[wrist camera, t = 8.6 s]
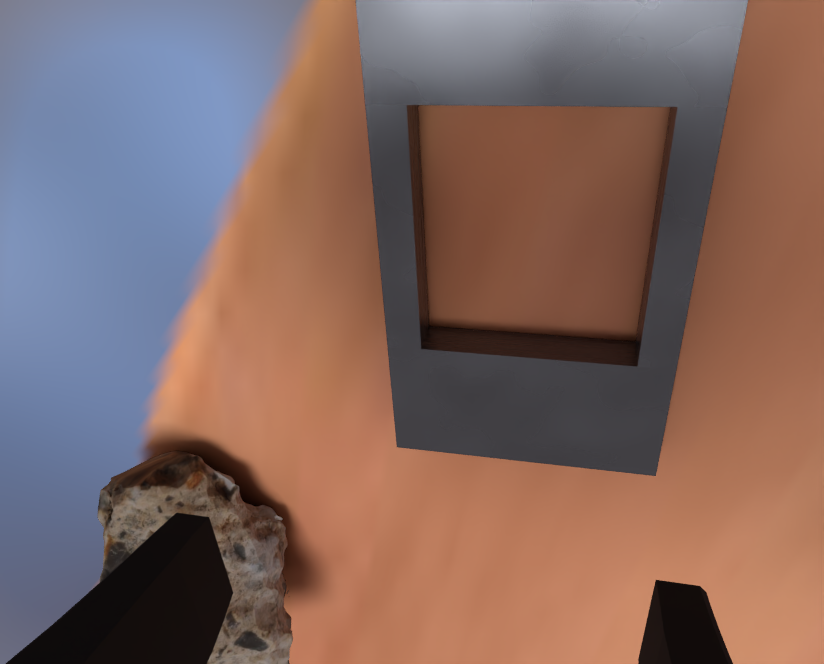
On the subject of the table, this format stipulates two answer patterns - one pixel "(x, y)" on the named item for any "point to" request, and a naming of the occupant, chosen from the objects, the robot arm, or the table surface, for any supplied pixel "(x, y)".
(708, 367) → the table surface
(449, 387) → the rail plate
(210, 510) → the rock
